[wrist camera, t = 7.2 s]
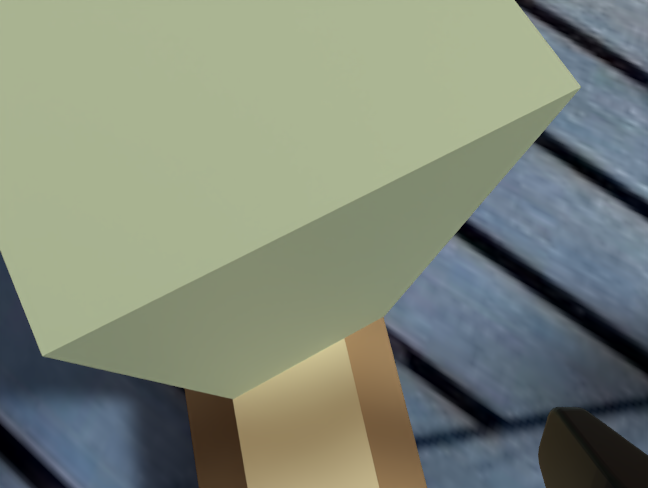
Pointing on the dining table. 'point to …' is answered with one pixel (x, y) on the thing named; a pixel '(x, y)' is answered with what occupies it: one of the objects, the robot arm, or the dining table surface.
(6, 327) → the dining table surface
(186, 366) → the sage post
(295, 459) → the birch ridge
